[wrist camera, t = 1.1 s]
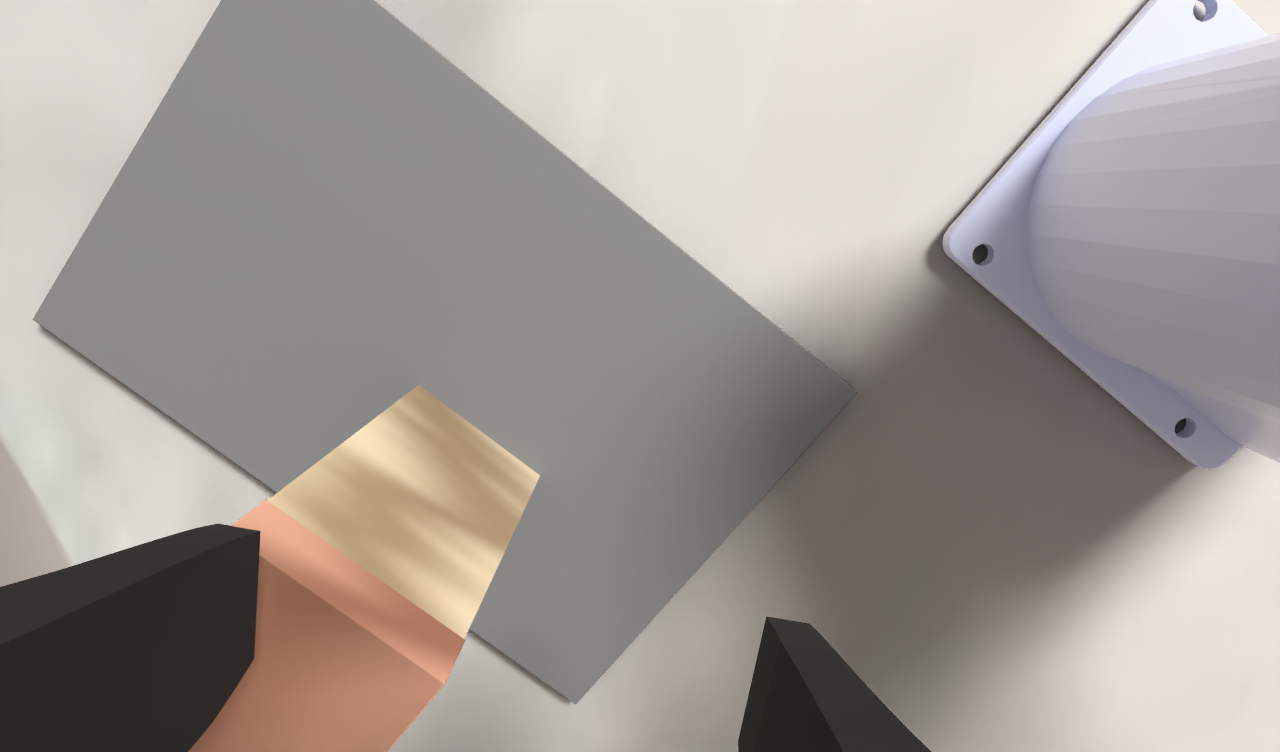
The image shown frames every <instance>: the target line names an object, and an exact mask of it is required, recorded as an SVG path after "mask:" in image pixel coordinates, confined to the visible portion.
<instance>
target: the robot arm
mask: <svg viewBox="0 0 1280 752" xmlns="http://www.w3.org/2000/svg"><path fill="white" fill-rule="evenodd" d="M1197 1H1200V2H1202V3H1203V4H1204V6H1205V8H1206V12H1205V16H1204V18H1203V20H1202V21H1199V20H1197V19H1196V18H1195V16H1194V14H1193V7H1194V5H1195V4H1196V2H1197ZM942 244H943V248H944V251H945V253H946V254H947V255H948V257H949V258H951V259H952V260H953V261H954V262H955V263H956V264H958V265H959V266H960V267H961V268H962V269H963V270H965V271H966V272H967V273H968V274H969V275H971V276H972V277H973V278H974V279H975V280H976V281H978V282H979V283H980V284H981V285H982V286H983V287H985V288H986V289H987V290H988V291H989V292H990V293H992V294H993V295H994V296H995V297H996V298H998V299H999V300H1000V301H1001V302H1002V303H1003V304H1005V305H1006V306H1007V307H1008V308H1009V309H1010V310H1012V311H1013V312H1014V313H1015V314H1016V315H1018V316H1019V317H1020V318H1021V319H1022V320H1023V321H1025V322H1026V323H1027V324H1028V325H1029V326H1030V327H1032V328H1033V329H1034V330H1035V331H1036V332H1037V333H1039V334H1040V335H1041V336H1042V337H1043V338H1045V339H1046V340H1047V341H1048V342H1049V343H1050V344H1052V345H1053V346H1054V347H1055V348H1056V349H1057V350H1059V351H1060V352H1061V353H1062V354H1063V355H1064V356H1066V357H1067V358H1068V359H1069V360H1070V361H1072V362H1073V363H1074V364H1075V365H1076V366H1077V367H1079V368H1080V369H1081V370H1082V371H1083V372H1084V373H1086V374H1087V375H1088V376H1089V377H1090V378H1092V379H1093V380H1094V381H1095V382H1096V383H1097V384H1099V385H1100V386H1101V387H1102V388H1103V389H1104V390H1106V391H1107V392H1108V393H1109V394H1110V395H1111V396H1113V397H1114V398H1115V399H1116V400H1117V401H1119V402H1120V403H1121V404H1122V405H1123V406H1124V407H1126V408H1127V409H1128V410H1129V411H1130V412H1131V413H1133V414H1134V415H1135V416H1136V417H1137V418H1138V419H1140V420H1141V421H1142V422H1143V423H1144V424H1146V425H1147V426H1148V427H1149V428H1150V429H1151V430H1153V431H1154V432H1155V433H1156V434H1157V435H1158V436H1160V437H1161V438H1162V439H1163V440H1164V441H1166V442H1167V443H1168V444H1169V445H1170V446H1171V447H1173V448H1174V449H1175V450H1176V451H1177V452H1178V453H1180V454H1181V455H1182V456H1183V457H1184V458H1185V459H1187V460H1188V461H1189V462H1191V463H1193V464H1195V465H1197V466H1198V467H1200V468H1202V469H1214V468H1218V467H1220V466H1221V465H1223V464H1224V463H1226V462H1227V461H1228V460H1229V459H1230V458H1231V457H1232V456H1233V455H1234V454H1235V453H1236V452H1237V451H1238V450H1239V449H1240V448H1242V447H1243V446H1245V447H1247V448H1249V449H1251V450H1253V451H1256V452H1258V453H1260V454H1262V455H1265V456H1267V457H1269V458H1271V459H1274V460H1276V461H1278V462H1280V33H1278V34H1274V35H1270V36H1268V35H1267V34H1266V33H1265V32H1264V31H1263V30H1262V29H1261V28H1260V27H1259V26H1258V25H1257V24H1256V23H1255V22H1254V21H1253V20H1252V19H1251V18H1249V17H1248V16H1247V15H1246V14H1245V13H1244V12H1243V11H1242V10H1241V9H1240V8H1239V7H1238V6H1237V5H1236V4H1235V3H1234V2H1233V1H1232V0H1149V1H1148V2H1147V3H1146V5H1145V6H1144V7H1143V8H1142V9H1141V10H1140V11H1139V13H1138V14H1137V15H1136V16H1135V17H1134V18H1133V19H1132V20H1131V22H1130V23H1129V24H1128V25H1127V26H1126V27H1125V28H1124V30H1123V31H1122V32H1121V33H1120V34H1119V35H1118V36H1117V37H1116V39H1115V40H1114V41H1113V42H1112V43H1111V44H1110V45H1109V47H1108V48H1107V49H1106V50H1105V51H1104V52H1103V53H1102V54H1101V56H1100V57H1099V58H1098V59H1097V60H1096V61H1095V62H1094V64H1093V65H1092V66H1091V67H1090V68H1089V69H1088V70H1087V71H1086V73H1085V74H1084V75H1083V76H1082V77H1081V78H1080V79H1079V81H1078V82H1077V83H1076V84H1075V85H1074V86H1073V87H1072V88H1071V90H1070V91H1069V92H1068V93H1067V94H1066V95H1065V96H1064V98H1063V99H1062V100H1061V101H1060V102H1059V103H1058V104H1057V105H1056V107H1055V108H1054V109H1053V110H1052V111H1051V112H1050V113H1049V115H1048V116H1047V117H1046V118H1045V119H1044V120H1043V121H1042V122H1041V124H1040V125H1039V126H1038V127H1037V128H1036V129H1035V130H1034V131H1033V133H1032V134H1031V135H1030V136H1029V137H1028V138H1027V139H1026V141H1025V142H1024V143H1023V144H1022V145H1021V146H1020V147H1019V148H1018V150H1017V151H1016V152H1015V153H1014V154H1013V155H1012V156H1011V158H1010V159H1009V160H1008V161H1007V162H1006V163H1005V164H1004V165H1003V167H1002V168H1001V169H1000V170H999V171H998V172H997V173H996V175H995V176H994V177H993V178H992V179H991V180H990V181H989V182H988V184H987V185H986V186H985V187H984V188H983V189H982V190H981V192H980V193H979V194H978V195H977V196H976V197H975V198H974V199H973V201H972V202H971V203H970V204H969V205H968V206H967V207H966V209H965V210H964V211H963V212H962V213H961V214H960V215H959V216H958V218H957V219H956V220H955V221H954V222H953V223H952V224H951V226H950V227H949V228H948V229H947V231H946V233H945V234H944V237H943V243H942ZM980 244H984V245H985V246H986V248H987V249H988V256H987V258H986V260H985V261H983V262H982V263H980V264H975V262H974V261H973V259H972V253H973V251H974V249H975V248H976V247H977V246H979V245H980ZM1182 419H1186V426H1185V427H1184V429H1183V430H1182V431H1180V432H1178V433H1175V426H1176V424H1177V422H1178V421H1180V420H1182ZM260 532H261V531H258V530H252V529H246V528H240V527H234V526H228V525H222V524H214V525H209V526H204V527H200V528H196V529H192V530H188V531H184V532H181V533H177V534H174V535H170V536H167V537H164V538H161V539H157V540H154V541H151V542H148V543H144V544H141V545H138V546H135V547H132V548H128V549H125V550H122V551H119V552H116V553H113V554H109V555H106V556H103V557H100V558H97V559H94V560H90V561H87V562H84V563H81V564H78V565H74V566H71V567H68V568H65V569H62V570H59V571H56V572H52V573H48V574H45V575H41V576H38V577H34V578H31V579H27V580H24V581H20V582H17V583H13V584H10V585H6V586H3V587H0V752H188V751H189V750H190V749H191V748H192V747H193V745H194V744H195V743H196V742H197V741H198V739H199V738H200V737H201V736H202V735H203V733H204V732H205V731H206V730H207V729H208V727H209V726H210V725H211V724H212V722H213V721H214V720H215V718H216V717H217V715H218V714H219V712H220V711H221V709H222V708H223V706H224V705H225V703H226V702H227V700H228V699H229V698H230V696H231V695H232V693H233V692H234V690H235V688H236V687H237V685H238V684H239V682H240V680H241V679H242V677H243V676H244V674H245V672H246V671H247V669H248V668H249V666H250V665H251V663H252V661H253V660H254V653H255V633H256V613H257V593H258V573H259V552H260ZM738 747H739V752H931V751H930V750H929V749H928V748H927V747H926V746H925V745H924V744H923V743H922V742H921V741H920V740H918V739H917V738H916V737H915V736H914V735H913V734H912V733H911V732H910V731H909V730H908V729H907V728H906V727H905V726H904V725H903V724H902V722H901V721H900V720H899V719H898V718H897V717H896V716H895V715H894V714H893V713H892V712H891V711H890V710H889V709H888V708H887V707H886V706H885V705H884V704H883V703H882V702H881V701H880V700H879V698H878V697H877V696H876V695H875V694H874V693H873V692H872V691H871V690H870V689H869V688H868V687H867V686H866V684H865V683H864V682H863V681H862V680H861V679H860V678H859V677H858V676H857V675H856V673H855V672H854V671H853V670H852V669H851V668H850V667H849V666H848V665H847V663H846V662H845V661H844V660H843V659H842V658H841V657H840V656H839V655H838V653H837V652H836V651H835V650H834V649H833V648H832V647H831V646H830V645H829V643H828V642H827V641H826V640H825V639H824V638H823V637H822V636H821V635H820V634H819V633H818V632H817V631H816V630H815V629H814V628H813V627H812V626H811V625H810V624H807V623H801V622H795V621H789V620H783V619H777V618H771V617H766V621H765V625H764V630H763V634H762V639H761V643H760V647H759V652H758V656H757V661H756V665H755V670H754V674H753V678H752V683H751V687H750V692H749V696H748V700H747V705H746V709H745V714H744V718H743V722H742V727H741V731H740V736H739V740H738Z"/></svg>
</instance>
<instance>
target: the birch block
mask: <svg viewBox="0 0 1280 752" xmlns="http://www.w3.org/2000/svg"><path fill="white" fill-rule="evenodd" d="M539 477H540V475H539V474H538V473H536V472H535V471H534V470H532V469H531V468H529V467H528V466H527V465H525V464H524V463H523V462H521V461H520V460H519V459H517V458H516V457H515V456H513V455H512V454H511V453H509V452H508V451H507V450H505V449H504V448H503V447H501V446H500V445H499V444H497V443H496V442H495V441H493V440H492V439H491V438H489V437H488V436H487V435H485V434H484V433H483V432H481V431H480V430H479V429H477V428H476V427H475V426H473V425H472V424H471V423H469V422H468V421H467V420H465V419H464V418H463V417H461V416H460V415H458V414H457V413H456V412H454V411H453V410H452V409H450V408H449V407H448V406H446V405H445V404H444V403H442V402H441V401H440V400H438V399H437V398H436V397H434V396H433V395H432V394H430V393H429V392H428V391H426V390H425V389H424V388H422V387H421V386H420V385H418V386H416V387H415V388H414V389H413V390H411V391H410V392H409V393H407V394H406V395H405V396H403V397H402V398H401V399H399V400H398V401H397V402H395V403H394V404H393V405H392V406H390V407H389V408H388V409H386V410H385V411H384V412H382V413H381V414H380V415H378V416H377V417H376V418H375V419H373V420H372V421H371V422H369V423H368V424H367V425H365V426H364V427H363V428H361V429H360V430H359V431H358V432H356V433H355V434H354V435H352V436H351V437H350V438H348V439H347V440H346V441H344V442H343V443H342V444H341V445H339V446H338V447H337V448H335V449H334V450H333V451H331V452H330V453H329V454H327V455H326V456H325V457H324V458H322V459H321V460H320V461H318V462H317V463H316V464H314V465H313V466H312V467H310V468H309V469H308V470H306V471H305V472H304V473H303V474H301V475H300V476H299V477H297V478H296V479H295V480H293V481H292V482H291V483H289V484H288V485H287V486H286V487H284V488H283V489H282V490H280V491H279V492H278V493H276V494H275V495H274V496H272V497H271V498H270V499H269V500H265V501H263V502H262V503H261V504H259V505H258V506H257V507H256V508H254V509H253V510H252V511H250V512H249V513H248V514H246V515H245V516H244V517H242V518H241V519H240V520H238V521H237V522H236V523H234V524H233V525H232V526H234V527H240V528H246V529H252V530H258V531H261V532H260V552H259V573H258V593H257V613H256V633H255V653H254V660H253V661H252V663H251V665H250V666H249V668H248V669H247V671H246V672H245V674H244V676H243V677H242V679H241V680H240V682H239V684H238V685H237V687H236V688H235V690H234V692H233V693H232V695H231V696H230V698H229V699H228V700H227V702H226V703H225V705H224V706H223V708H222V709H221V711H220V712H219V714H218V715H217V717H216V718H215V720H214V721H213V722H212V724H211V725H210V726H209V727H208V729H207V730H206V731H205V732H204V733H203V735H202V736H201V737H200V738H199V739H198V741H197V742H196V743H195V744H194V745H193V747H192V748H191V749H190V750H189V751H188V752H388V751H389V750H390V749H391V748H392V746H393V745H394V744H395V743H396V742H397V741H398V739H399V738H400V737H401V736H402V735H403V733H404V732H405V731H406V730H407V729H408V727H409V726H410V725H411V724H412V723H413V722H414V720H415V719H416V718H417V717H418V716H419V714H420V713H421V712H422V711H423V710H424V708H425V707H426V706H427V705H428V704H429V703H430V701H431V700H432V699H433V698H434V697H435V695H436V694H437V693H438V692H439V691H440V689H441V688H442V687H443V686H444V685H445V683H446V681H447V679H448V677H449V675H450V672H451V670H452V668H453V666H454V664H455V662H456V659H457V657H458V655H459V653H460V651H461V649H462V646H463V644H464V642H465V636H466V634H467V632H468V630H469V628H470V626H471V624H472V621H473V619H474V617H475V615H476V613H477V611H478V609H479V606H480V604H481V602H482V600H483V598H484V596H485V593H486V591H487V589H488V587H489V585H490V583H491V581H492V578H493V576H494V574H495V572H496V570H497V568H498V565H499V563H500V561H501V559H502V557H503V555H504V553H505V550H506V548H507V546H508V544H509V542H510V540H511V537H512V535H513V533H514V531H515V529H516V527H517V525H518V522H519V520H520V518H521V516H522V514H523V512H524V510H525V507H526V505H527V503H528V501H529V499H530V497H531V494H532V492H533V490H534V488H535V486H536V484H537V482H538V479H539Z"/></svg>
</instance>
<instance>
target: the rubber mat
mask: <svg viewBox="0 0 1280 752" xmlns="http://www.w3.org/2000/svg"><path fill="white" fill-rule="evenodd" d="M33 320H34V321H35V322H37V323H38V324H40V325H41V326H42V327H44V328H45V329H47V330H48V331H50V332H51V333H52V334H54V335H55V336H57V337H58V338H59V339H61V340H62V341H64V342H65V343H66V344H68V345H69V346H71V347H72V348H73V349H75V350H76V351H78V352H79V353H81V354H82V355H83V356H85V357H86V358H88V359H89V360H90V361H92V362H93V363H95V364H96V365H97V366H99V367H100V368H102V369H103V370H105V371H106V372H107V373H109V374H110V375H112V376H113V377H114V378H116V379H117V380H119V381H120V382H121V383H123V384H124V385H126V386H127V387H128V388H130V389H131V390H133V391H134V392H136V393H137V394H138V395H140V396H141V397H143V398H144V399H145V400H147V401H148V402H150V403H151V404H152V405H154V406H155V407H157V408H158V409H160V410H161V411H162V412H164V413H165V414H167V415H168V416H169V417H171V418H172V419H174V420H175V421H176V422H178V423H179V424H181V425H182V426H184V427H185V428H186V429H188V430H189V431H191V432H192V433H193V434H195V435H196V436H198V437H199V438H200V439H202V440H203V441H205V442H206V443H207V444H209V445H210V446H212V447H213V448H215V449H216V450H217V451H219V452H220V453H222V454H223V455H224V456H226V457H227V458H229V459H230V460H231V461H233V462H234V463H236V464H237V465H239V466H240V467H241V468H243V469H244V470H246V471H247V472H248V473H250V474H251V475H253V476H254V477H255V478H257V479H258V480H260V481H261V482H263V483H264V484H265V485H267V486H268V487H270V488H271V489H272V490H274V491H275V492H277V493H278V492H279V491H280V490H282V489H283V488H284V487H286V486H287V485H288V484H289V483H291V482H292V481H293V480H295V479H296V478H297V477H299V476H300V475H301V474H303V473H304V472H305V471H306V470H308V469H309V468H310V467H312V466H313V465H314V464H316V463H317V462H318V461H320V460H321V459H322V458H324V457H325V456H326V455H327V454H329V453H330V452H331V451H333V450H334V449H335V448H337V447H338V446H339V445H341V444H342V443H343V442H344V441H346V440H347V439H348V438H350V437H351V436H352V435H354V434H355V433H356V432H358V431H359V430H360V429H361V428H363V427H364V426H365V425H367V424H368V423H369V422H371V421H372V420H373V419H375V418H376V417H377V416H378V415H380V414H381V413H382V412H384V411H385V410H386V409H388V408H389V407H390V406H392V405H393V404H394V403H395V402H397V401H398V400H399V399H401V398H402V397H403V396H405V395H406V394H407V393H409V392H410V391H411V390H413V389H414V388H415V387H416V386H418V385H420V386H421V387H422V388H424V389H425V390H426V391H428V392H429V393H430V394H432V395H433V396H434V397H436V398H437V399H438V400H440V401H441V402H442V403H444V404H445V405H446V406H448V407H449V408H450V409H452V410H453V411H454V412H456V413H457V414H458V415H460V416H461V417H463V418H464V419H465V420H467V421H468V422H469V423H471V424H472V425H473V426H475V427H476V428H477V429H479V430H480V431H481V432H483V433H484V434H485V435H487V436H488V437H489V438H491V439H492V440H493V441H495V442H496V443H497V444H499V445H500V446H501V447H503V448H504V449H505V450H507V451H508V452H509V453H511V454H512V455H513V456H515V457H516V458H517V459H519V460H520V461H521V462H523V463H524V464H525V465H527V466H528V467H529V468H531V469H532V470H534V471H535V472H536V473H538V474H539V475H540V477H539V479H538V482H537V484H536V486H535V488H534V490H533V492H532V494H531V497H530V499H529V501H528V503H527V505H526V507H525V510H524V512H523V514H522V516H521V518H520V520H519V522H518V525H517V527H516V529H515V531H514V533H513V535H512V537H511V540H510V542H509V544H508V546H507V548H506V550H505V553H504V555H503V557H502V559H501V561H500V563H499V565H498V568H497V570H496V572H495V574H494V576H493V578H492V581H491V583H490V585H489V587H488V589H487V591H486V593H485V596H484V598H483V600H482V602H481V604H480V606H479V609H478V611H477V613H476V615H475V617H474V619H473V621H472V624H471V626H470V628H469V629H470V630H471V631H473V632H474V633H476V634H477V635H478V636H480V637H481V638H483V639H484V640H485V641H487V642H488V643H490V644H491V645H492V646H494V647H495V648H497V649H498V650H499V651H501V652H502V653H504V654H505V655H507V656H508V657H509V658H511V659H512V660H514V661H515V662H516V663H518V664H519V665H521V666H522V667H523V668H525V669H526V670H528V671H529V672H531V673H532V674H533V675H535V676H536V677H538V678H539V679H540V680H542V681H543V682H545V683H546V684H547V685H549V686H550V687H552V688H553V689H554V690H556V691H557V692H559V693H560V694H562V695H563V696H564V697H566V698H567V699H569V700H570V701H571V702H573V703H574V704H577V703H578V702H579V700H580V699H581V698H582V697H583V696H584V695H585V694H586V693H587V692H588V690H589V689H590V688H591V687H592V686H593V685H594V684H595V683H596V682H597V680H598V679H599V678H600V677H601V676H602V675H603V674H604V673H605V672H606V670H607V669H608V668H609V667H610V666H611V665H612V664H613V663H614V662H615V661H616V659H617V658H618V657H619V656H620V655H621V654H622V653H623V652H624V651H625V649H626V648H627V647H628V646H629V645H630V644H631V643H632V642H633V641H634V639H635V638H636V637H637V636H638V635H639V634H640V633H641V632H642V631H643V629H644V628H645V627H646V626H647V625H648V624H649V623H650V622H651V621H652V620H653V618H654V617H655V616H656V615H657V614H658V613H659V612H660V611H661V610H662V608H663V607H664V606H665V605H666V604H667V603H668V602H669V601H670V600H671V598H672V597H673V596H674V595H675V594H676V593H677V592H678V591H679V590H680V588H681V587H682V586H683V585H684V584H685V583H686V582H687V581H688V580H689V579H690V577H691V576H692V575H693V574H694V573H695V572H696V571H697V570H698V569H699V567H700V566H701V565H702V564H703V563H704V562H705V561H706V560H707V559H708V557H709V556H710V555H711V554H712V553H713V552H714V551H715V550H716V549H717V547H718V546H719V545H720V544H721V543H722V542H723V541H724V540H725V539H726V537H727V536H728V535H729V534H730V533H731V532H732V531H733V530H734V529H735V528H736V526H737V525H738V524H739V523H740V522H741V521H742V520H743V519H744V518H745V516H746V515H747V514H748V513H749V512H750V511H751V510H752V509H753V508H754V506H755V505H756V504H757V503H758V502H759V501H760V500H761V499H762V498H763V496H764V495H765V494H766V493H767V492H768V491H769V490H770V489H771V488H772V487H773V485H774V484H775V483H776V482H777V481H778V480H779V479H780V478H781V477H782V475H783V474H784V473H785V472H786V471H787V470H788V469H789V468H790V467H791V465H792V464H793V463H794V462H795V461H796V460H797V459H798V458H799V457H800V455H801V454H802V453H803V452H804V451H805V450H806V449H807V448H808V447H809V446H810V444H811V443H812V442H813V441H814V440H815V439H816V438H817V437H818V436H819V434H820V433H821V432H822V431H823V430H824V429H825V428H826V427H827V426H828V424H829V423H830V422H831V421H832V420H833V419H834V418H835V417H836V416H837V414H838V413H839V412H840V411H841V410H842V409H843V408H844V407H845V406H846V404H847V403H848V402H849V401H850V400H851V399H852V398H853V397H854V396H855V395H856V393H857V392H856V391H855V390H854V389H853V388H852V387H851V386H850V385H848V384H847V383H846V382H845V381H843V380H842V379H841V378H840V377H839V376H837V375H836V374H835V373H834V372H832V371H831V370H830V369H829V368H827V367H826V366H825V365H824V364H822V363H821V362H820V361H819V360H818V359H816V358H815V357H814V356H813V355H811V354H810V353H809V352H808V351H806V350H805V349H804V348H803V347H801V346H800V345H799V344H798V343H797V342H795V341H794V340H793V339H792V338H790V337H789V336H788V335H787V334H785V333H784V332H783V331H782V330H780V329H779V328H778V327H777V326H776V325H774V324H773V323H772V322H771V321H769V320H768V319H767V318H766V317H764V316H763V315H762V314H761V313H759V312H758V311H757V310H756V309H755V308H753V307H752V306H751V305H750V304H748V303H747V302H746V301H745V300H743V299H742V298H741V297H740V296H738V295H737V294H736V293H735V292H734V291H732V290H731V289H730V288H729V287H727V286H726V285H725V284H724V283H722V282H721V281H720V280H719V279H717V278H716V277H715V276H714V275H713V274H711V273H710V272H709V271H708V270H706V269H705V268H704V267H703V266H701V265H700V264H699V263H698V262H696V261H695V260H694V259H693V258H692V257H690V256H689V255H688V254H687V253H685V252H684V251H683V250H682V249H680V248H679V247H678V246H677V245H675V244H674V243H673V242H672V241H671V240H669V239H668V238H667V237H666V236H664V235H663V234H662V233H661V232H659V231H658V230H657V229H656V228H654V227H653V226H652V225H651V224H650V223H648V222H647V221H646V220H645V219H643V218H642V217H641V216H640V215H638V214H637V213H636V212H635V211H633V210H632V209H631V208H630V207H629V206H627V205H626V204H625V203H624V202H622V201H621V200H620V199H619V198H617V197H616V196H615V195H614V194H612V193H611V192H610V191H609V190H608V189H606V188H605V187H604V186H603V185H601V184H600V183H599V182H598V181H596V180H595V179H594V178H593V177H591V176H590V175H589V174H588V173H587V172H585V171H584V170H583V169H582V168H580V167H579V166H578V165H577V164H575V163H574V162H573V161H572V160H570V159H569V158H568V157H567V156H566V155H564V154H563V153H562V152H561V151H559V150H558V149H557V148H556V147H554V146H553V145H552V144H551V143H549V142H548V141H547V140H546V139H545V138H543V137H542V136H541V135H540V134H538V133H537V132H536V131H535V130H533V129H532V128H531V127H530V126H528V125H527V124H526V123H525V122H524V121H522V120H521V119H520V118H519V117H517V116H516V115H515V114H514V113H512V112H511V111H510V110H509V109H507V108H506V107H505V106H504V105H503V104H501V103H500V102H499V101H498V100H496V99H495V98H494V97H493V96H491V95H490V94H489V93H488V92H486V91H485V90H484V89H483V88H482V87H480V86H479V85H478V84H477V83H475V82H474V81H473V80H472V79H470V78H469V77H468V76H467V75H465V74H464V73H463V72H462V71H461V70H459V69H458V68H457V67H456V66H454V65H453V64H452V63H451V62H449V61H448V60H447V59H446V58H444V57H443V56H442V55H441V54H440V53H438V52H437V51H436V50H435V49H433V48H432V47H431V46H430V45H428V44H427V43H426V42H425V41H423V40H422V39H421V38H420V37H419V36H417V35H416V34H415V33H414V32H412V31H411V30H410V29H409V28H407V27H406V26H405V25H404V24H402V23H401V22H400V21H399V20H398V19H396V18H395V17H394V16H393V15H391V14H390V13H389V12H388V11H386V10H385V9H384V8H383V7H381V6H380V5H379V4H378V3H377V2H375V1H374V0H221V2H220V3H219V5H218V7H217V8H216V10H215V12H214V13H213V15H212V17H211V18H210V20H209V22H208V24H207V25H206V27H205V29H204V30H203V32H202V34H201V35H200V37H199V39H198V40H197V42H196V44H195V46H194V47H193V49H192V51H191V52H190V54H189V56H188V57H187V59H186V61H185V62H184V64H183V66H182V68H181V69H180V71H179V73H178V74H177V76H176V78H175V79H174V81H173V83H172V84H171V86H170V88H169V90H168V91H167V93H166V95H165V96H164V98H163V100H162V101H161V103H160V105H159V107H158V108H157V110H156V112H155V113H154V115H153V117H152V118H151V120H150V122H149V123H148V125H147V127H146V129H145V130H144V132H143V134H142V135H141V137H140V139H139V140H138V142H137V144H136V145H135V147H134V149H133V151H132V152H131V154H130V156H129V157H128V159H127V161H126V162H125V164H124V166H123V167H122V169H121V171H120V173H119V174H118V176H117V178H116V179H115V181H114V183H113V184H112V186H111V188H110V189H109V191H108V193H107V195H106V196H105V198H104V200H103V201H102V203H101V205H100V206H99V208H98V210H97V212H96V213H95V215H94V217H93V218H92V220H91V222H90V223H89V225H88V227H87V228H86V230H85V232H84V234H83V235H82V237H81V239H80V240H79V242H78V244H77V245H76V247H75V249H74V250H73V252H72V254H71V256H70V257H69V259H68V261H67V262H66V264H65V266H64V267H63V269H62V271H61V272H60V274H59V276H58V278H57V279H56V281H55V283H54V284H53V286H52V288H51V289H50V291H49V293H48V294H47V296H46V298H45V300H44V301H43V303H42V305H41V306H40V308H39V310H38V311H37V313H36V315H35V317H34V318H33Z"/></svg>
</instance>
